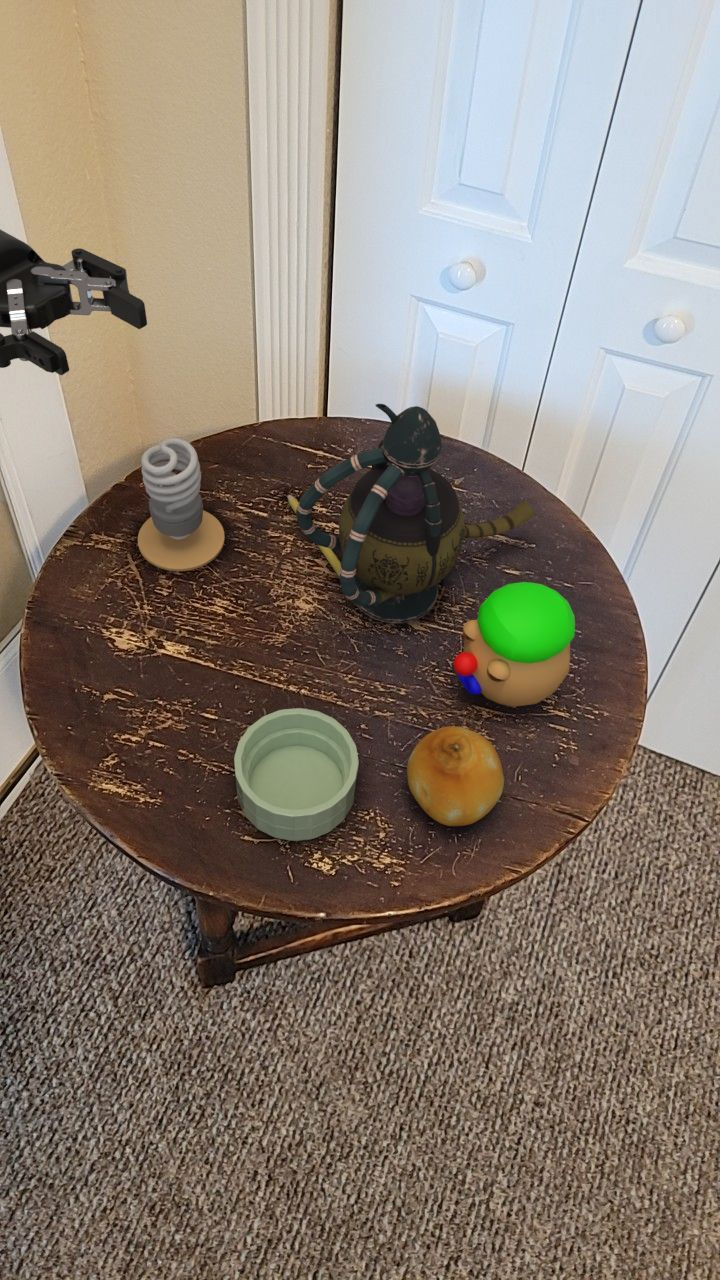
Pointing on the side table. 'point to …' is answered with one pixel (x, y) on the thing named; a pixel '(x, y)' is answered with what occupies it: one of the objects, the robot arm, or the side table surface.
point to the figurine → (517, 645)
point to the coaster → (182, 545)
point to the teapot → (398, 521)
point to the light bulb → (173, 487)
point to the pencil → (326, 551)
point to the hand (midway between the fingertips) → (105, 340)
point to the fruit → (455, 775)
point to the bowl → (296, 773)
